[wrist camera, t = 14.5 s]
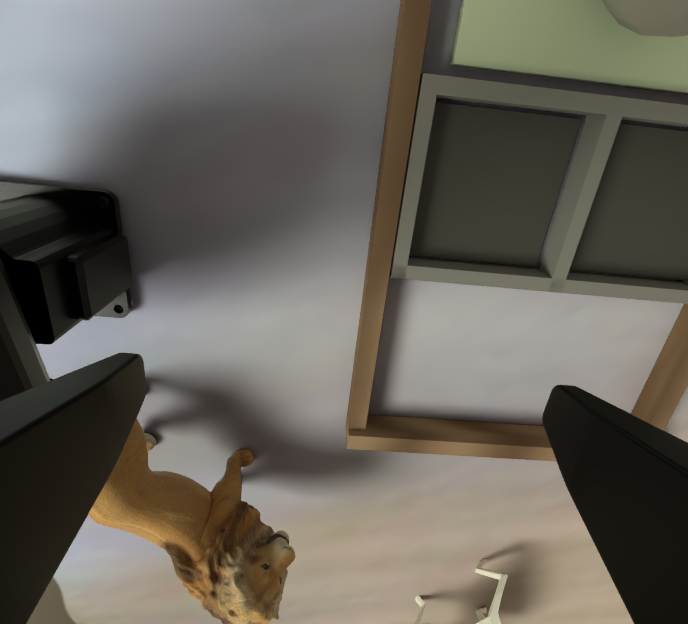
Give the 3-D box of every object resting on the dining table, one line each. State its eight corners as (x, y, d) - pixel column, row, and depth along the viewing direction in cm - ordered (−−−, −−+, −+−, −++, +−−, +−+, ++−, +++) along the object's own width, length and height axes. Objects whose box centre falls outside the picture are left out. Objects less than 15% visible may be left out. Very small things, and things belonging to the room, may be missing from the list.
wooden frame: (345, 426, 26) (346, 448, 24) (439, -297, 13) (456, -363, 12) (631, 443, 27) (652, 467, 25) (958, -202, 15) (1046, -248, 13)
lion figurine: (315, 463, 27) (308, 608, 19) (275, 511, 29) (253, 663, 21) (97, 359, 23) (-29, 486, 15) (66, 422, 25) (-61, 565, 17)
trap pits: (387, 268, 21) (390, 277, 20) (416, 76, 18) (423, 73, 16) (687, 294, 23) (710, 305, 21) (772, 119, 19) (806, 119, 18)
